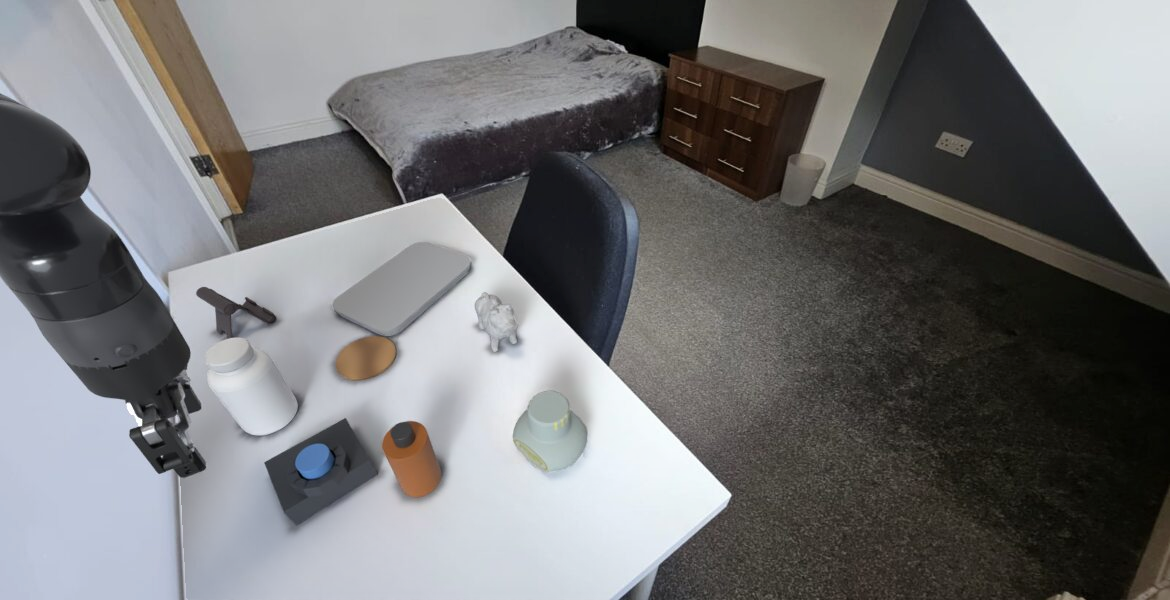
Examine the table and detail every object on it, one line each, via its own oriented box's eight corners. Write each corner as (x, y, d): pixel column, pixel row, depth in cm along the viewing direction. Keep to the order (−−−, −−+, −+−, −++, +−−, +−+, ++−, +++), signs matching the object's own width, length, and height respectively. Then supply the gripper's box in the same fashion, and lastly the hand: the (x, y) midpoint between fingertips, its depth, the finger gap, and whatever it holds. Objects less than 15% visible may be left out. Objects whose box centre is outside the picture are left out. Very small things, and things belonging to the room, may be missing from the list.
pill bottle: (304, 420, 73) (262, 356, 63) (245, 446, 70) (192, 382, 60) (295, 387, 78) (255, 322, 68) (239, 409, 75) (189, 344, 65)
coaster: (349, 390, 78) (348, 388, 78) (327, 355, 83) (326, 354, 83) (405, 360, 83) (405, 358, 83) (382, 330, 88) (381, 328, 88)
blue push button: (307, 485, 60) (300, 477, 58) (297, 463, 62) (290, 455, 61) (338, 466, 62) (333, 458, 60) (328, 446, 64) (322, 437, 63)
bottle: (411, 505, 64) (389, 459, 56) (394, 476, 67) (370, 428, 59) (448, 480, 66) (432, 432, 59) (430, 453, 70) (411, 404, 62)
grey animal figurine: (501, 367, 82) (495, 323, 75) (474, 323, 90) (466, 280, 83) (528, 355, 85) (525, 312, 77) (499, 313, 93) (493, 270, 85)
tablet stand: (279, 320, 90) (259, 287, 84) (238, 346, 85) (215, 312, 79) (251, 304, 93) (231, 271, 88) (211, 328, 88) (186, 294, 82)
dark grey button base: (298, 531, 61) (279, 510, 57) (276, 476, 66) (257, 454, 62) (380, 479, 66) (368, 457, 62) (353, 432, 72) (341, 409, 68)
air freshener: (505, 444, 71) (499, 404, 64) (543, 409, 76) (540, 368, 69) (559, 489, 66) (557, 450, 59) (596, 448, 71) (598, 409, 64)
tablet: (328, 314, 91) (324, 305, 90) (421, 247, 109) (419, 238, 107) (391, 343, 86) (387, 334, 85) (478, 267, 103) (476, 259, 102)
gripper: (67, 296, 43) (149, 406, 53) (45, 408, 35) (147, 513, 45) (170, 276, 47) (228, 382, 57) (173, 373, 38) (240, 477, 49)
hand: (192, 439), depth 51 cm, fingers open, 8 cm apart
